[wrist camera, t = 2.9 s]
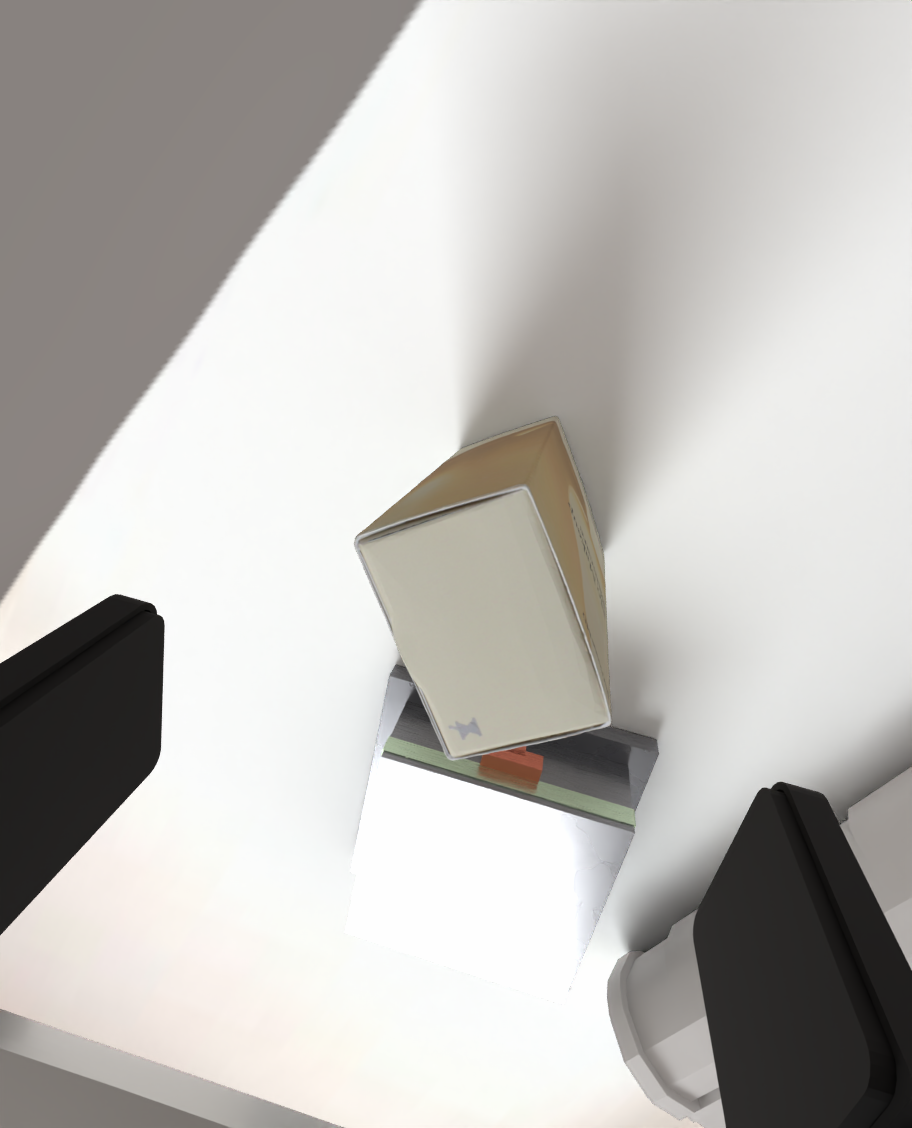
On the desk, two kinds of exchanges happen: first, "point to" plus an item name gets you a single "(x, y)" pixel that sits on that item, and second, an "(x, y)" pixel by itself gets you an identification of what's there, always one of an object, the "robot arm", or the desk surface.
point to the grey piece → (493, 846)
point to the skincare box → (498, 594)
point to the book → (672, 983)
